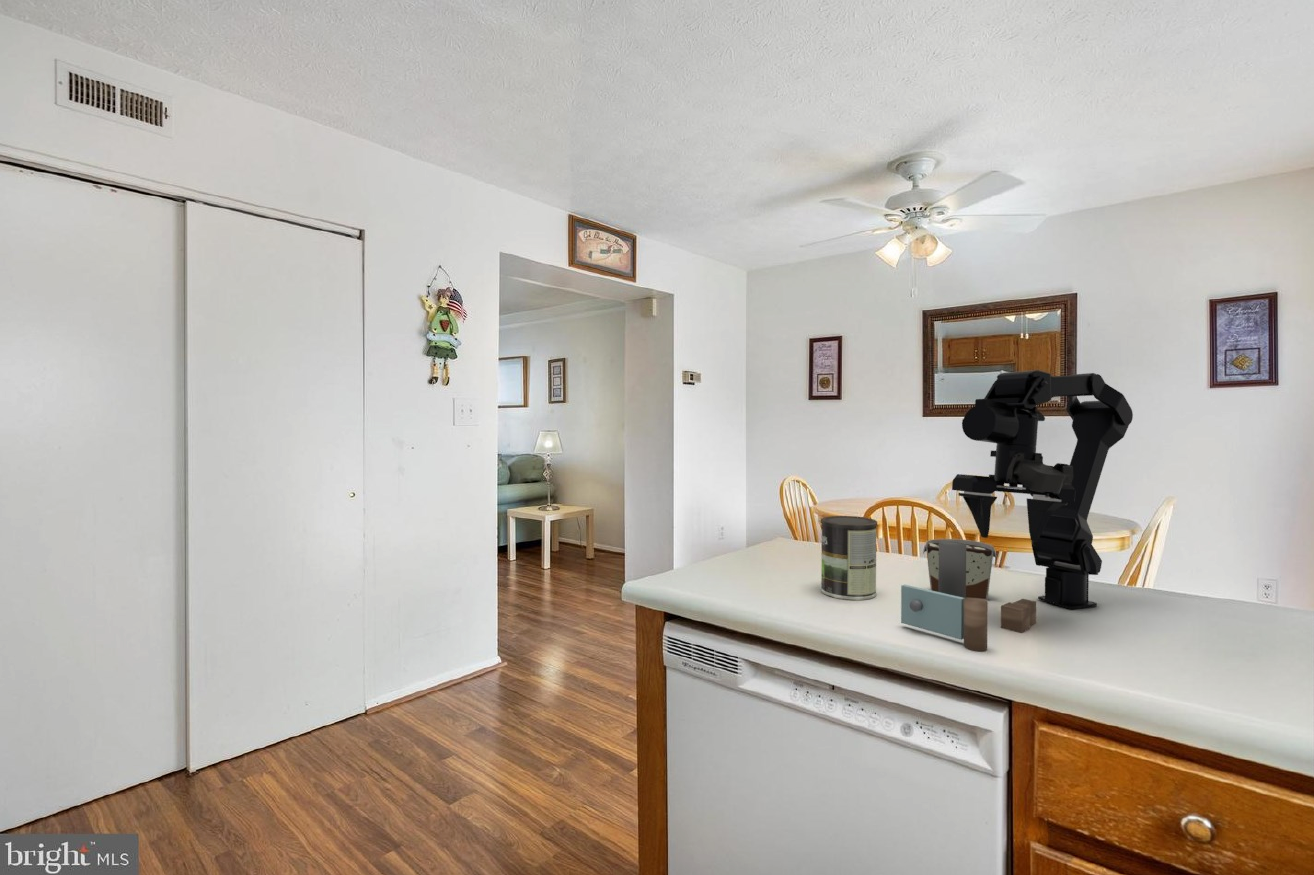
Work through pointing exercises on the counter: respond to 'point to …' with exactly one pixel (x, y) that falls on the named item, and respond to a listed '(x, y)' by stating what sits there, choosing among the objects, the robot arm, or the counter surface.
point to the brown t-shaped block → (1012, 618)
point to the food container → (976, 566)
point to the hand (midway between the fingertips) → (1009, 539)
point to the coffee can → (848, 557)
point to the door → (932, 611)
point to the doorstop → (952, 568)
